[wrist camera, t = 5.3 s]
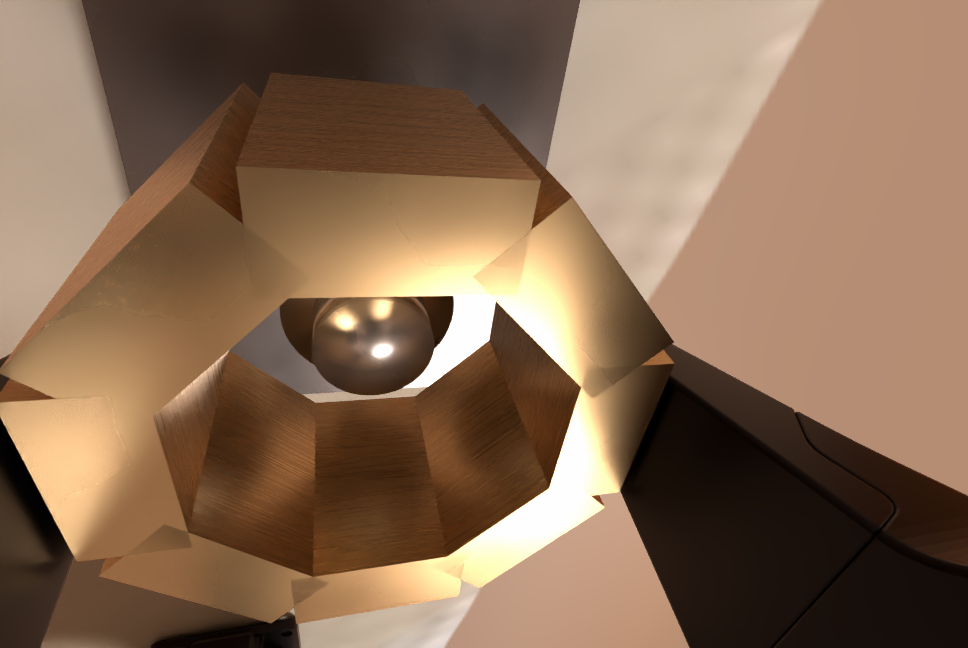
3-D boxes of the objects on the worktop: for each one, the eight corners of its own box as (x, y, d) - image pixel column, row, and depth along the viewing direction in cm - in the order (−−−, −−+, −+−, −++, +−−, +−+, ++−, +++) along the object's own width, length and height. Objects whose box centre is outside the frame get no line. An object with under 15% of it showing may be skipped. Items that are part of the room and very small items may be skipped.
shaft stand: (493, 360, 19) (573, 562, 13) (191, 375, 17) (112, 637, 11) (586, -137, 12) (892, -216, 5) (43, -260, 9) (-617, -711, 3)
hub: (524, 428, 12) (584, 574, 9) (178, 458, 10) (124, 653, 7) (605, 103, 8) (749, 190, 5) (64, 53, 6) (-142, 148, 3)
